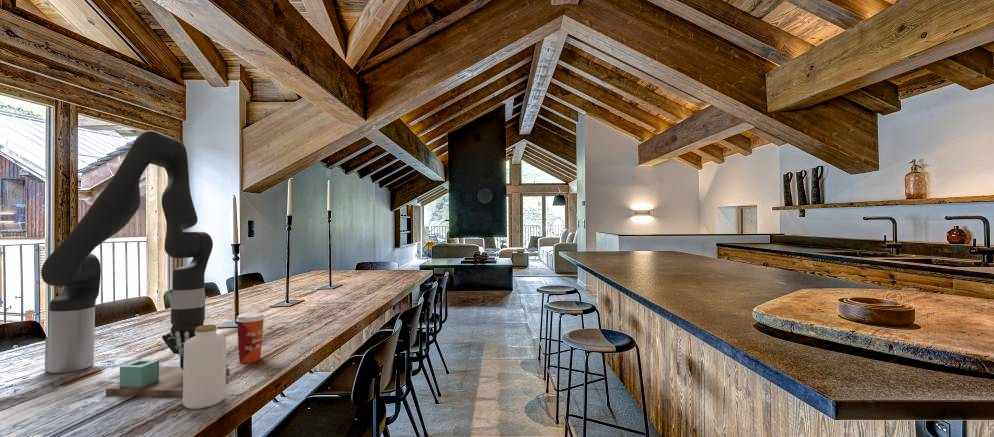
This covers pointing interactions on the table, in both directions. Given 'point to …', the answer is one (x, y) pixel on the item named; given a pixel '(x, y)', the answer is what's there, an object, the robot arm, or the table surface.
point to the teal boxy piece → (139, 373)
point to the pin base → (156, 385)
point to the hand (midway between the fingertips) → (187, 368)
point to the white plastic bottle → (204, 368)
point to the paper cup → (250, 336)
